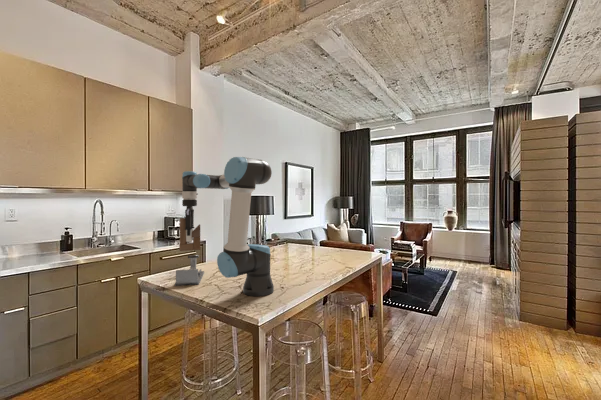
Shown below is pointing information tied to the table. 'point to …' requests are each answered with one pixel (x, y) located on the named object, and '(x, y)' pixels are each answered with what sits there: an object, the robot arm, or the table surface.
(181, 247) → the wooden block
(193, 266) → the ram
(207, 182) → the robot arm
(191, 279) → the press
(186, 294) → the table surface
